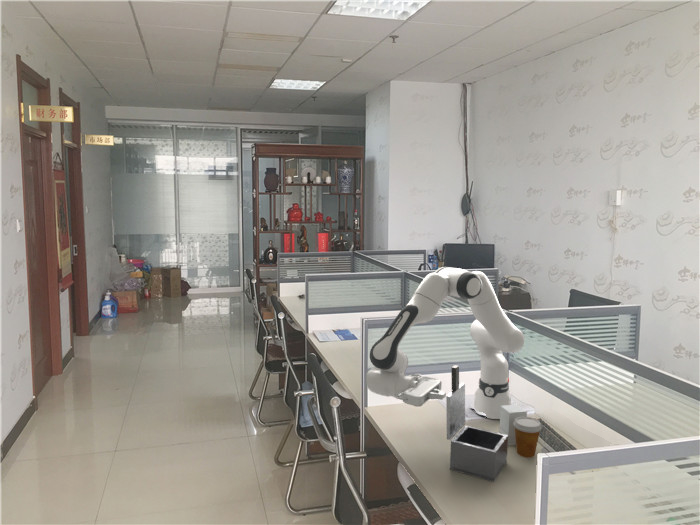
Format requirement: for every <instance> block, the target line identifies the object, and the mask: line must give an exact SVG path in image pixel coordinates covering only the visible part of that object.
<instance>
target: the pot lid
mask: <svg viewBox="0 0 700 525" xmlns="http://www.w3.org/2000/svg"><path fill="white" fill-rule="evenodd" d="M445 399H446V403H445V404H446V441H447V440H449V441H452V440H453V439H454V437H455V436H456V435H457V434H458V433H459V432H460V431H461V430H462V429H463V428H464V427H465V426H466V383H465V382H461V383H460V365H457V364H456V365H455V364H454V365H453V366H451V391H450V392H449V393H448V394H447V395H446V397H445Z"/></svg>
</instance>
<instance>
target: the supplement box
mask: <svg viewBox="0 0 700 525" xmlns="http://www.w3.org/2000/svg"><path fill="white" fill-rule="evenodd" d="M518 417H528V411H527V410H526V409H525V408H523V407H521V406H520V405H519V404H516V405H505V406H501V408H500V419H499V428H498V429H499V430H498V433H501V434H505V435H508V446H516V437H515V427H514V422H515V419H516V418H518Z"/></svg>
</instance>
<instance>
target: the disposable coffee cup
mask: <svg viewBox="0 0 700 525" xmlns="http://www.w3.org/2000/svg"><path fill="white" fill-rule="evenodd" d="M514 427H515V437H516V445H515V446H516V448H515V449H516V450H515V451H516V454H517V455H518V456H519V457H521V458H527V459H528V458H530V459H531V458H534V457H535V456H536V453H537V452H536V451H537V447H538V446H537V445H538V442H539V437H540V431H541V430H542V427H543V426H542V424H541V422H540V420H538V419H536V418H533V417H530V416H527V417H518V418H516V419H515V422H514Z"/></svg>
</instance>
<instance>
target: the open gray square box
mask: <svg viewBox="0 0 700 525" xmlns="http://www.w3.org/2000/svg"><path fill="white" fill-rule="evenodd" d="M508 446H509V445H508V435H505V434H501V433H499V432H497V431H492V430H488V429H484V428H481V427H480V428H479V427H474V426H471V425H466V424H465V425H464V426H463V427H462V428H461V429H460V430H459V431H458V432H457V433H456V434H455V436H454V437H453V438H452V439H451V440H450V454H449V456H450V457H449V470H450V471H454V472H458V473H461V474H465V475H468V476H472V477H476V478H479V479H482V480H486V481H490V482H493V483H494V482H495V481H496V480H497V478H498V477H499V475H500V474H501V472H502V470H503V469H504V468H505V466H506V464H507V463H508V461H507V460H508Z"/></svg>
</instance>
